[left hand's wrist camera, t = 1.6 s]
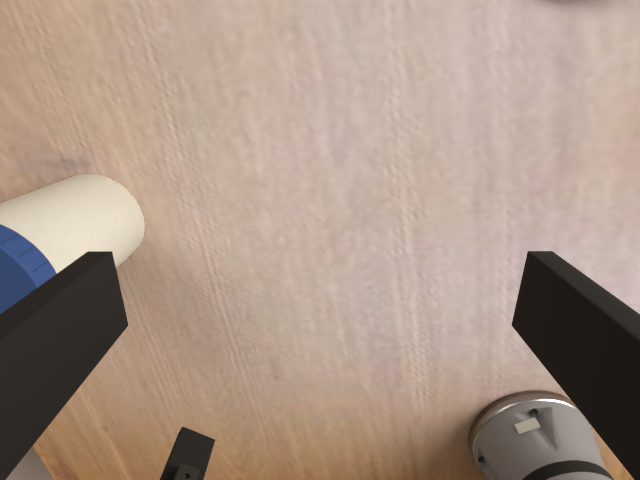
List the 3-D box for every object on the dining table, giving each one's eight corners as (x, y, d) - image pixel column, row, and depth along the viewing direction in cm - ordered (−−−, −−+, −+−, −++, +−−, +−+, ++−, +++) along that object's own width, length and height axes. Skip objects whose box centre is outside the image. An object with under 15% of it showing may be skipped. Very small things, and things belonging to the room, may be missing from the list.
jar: (156, 255, 43) (67, 349, 28) (71, 266, 43) (-63, 364, 28) (127, 167, 39) (6, 219, 24) (35, 180, 40) (-142, 240, 24)
